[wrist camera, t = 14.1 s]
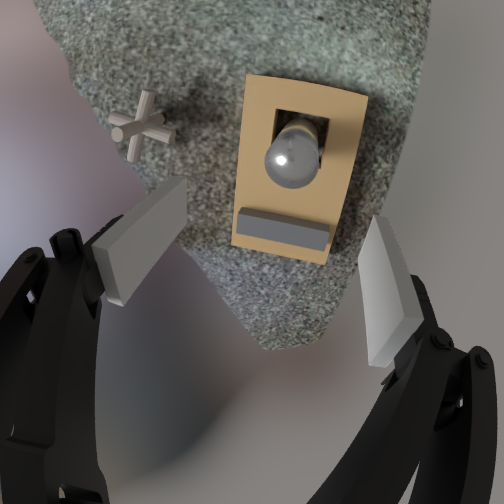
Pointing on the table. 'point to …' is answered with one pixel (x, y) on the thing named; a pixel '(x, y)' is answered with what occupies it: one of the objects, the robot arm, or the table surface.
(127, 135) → the pipe connector
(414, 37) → the table surface
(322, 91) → the jig
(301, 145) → the grey metal cylinder
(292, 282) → the table surface
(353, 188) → the table surface
